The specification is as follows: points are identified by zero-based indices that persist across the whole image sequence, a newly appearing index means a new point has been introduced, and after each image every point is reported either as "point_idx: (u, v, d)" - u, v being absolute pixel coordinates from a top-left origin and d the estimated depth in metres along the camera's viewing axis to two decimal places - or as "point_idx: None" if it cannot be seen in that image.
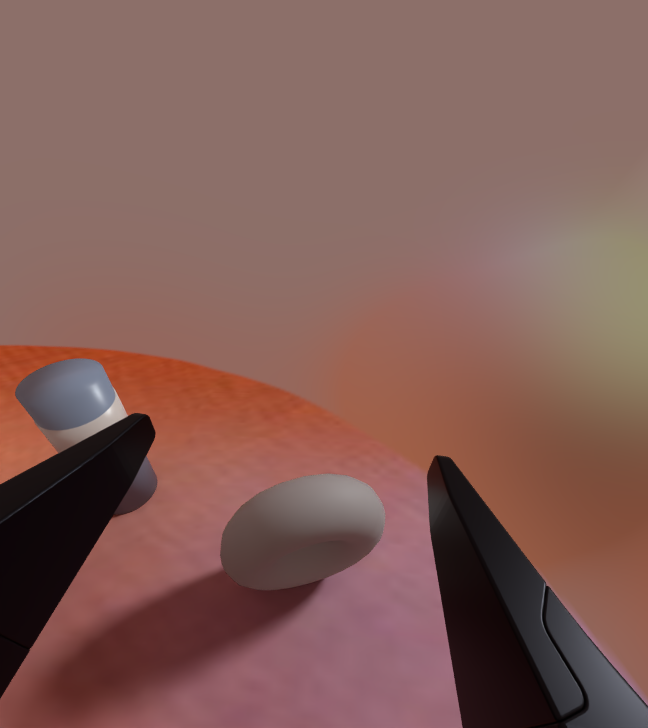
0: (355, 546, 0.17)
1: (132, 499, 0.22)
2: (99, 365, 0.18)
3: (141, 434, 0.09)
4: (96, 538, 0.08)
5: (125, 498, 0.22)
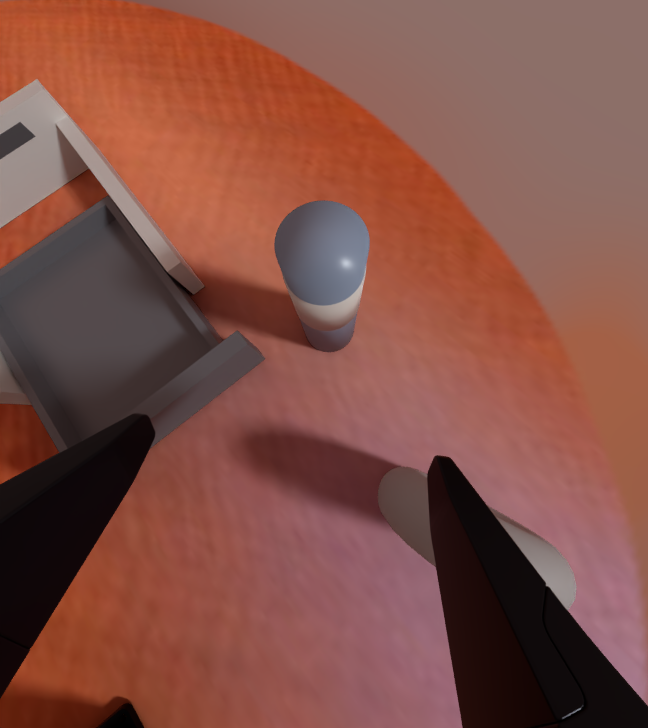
0: None
1: (329, 348, 0.23)
2: (366, 235, 0.12)
3: (141, 434, 0.09)
4: (96, 538, 0.08)
5: (324, 346, 0.22)
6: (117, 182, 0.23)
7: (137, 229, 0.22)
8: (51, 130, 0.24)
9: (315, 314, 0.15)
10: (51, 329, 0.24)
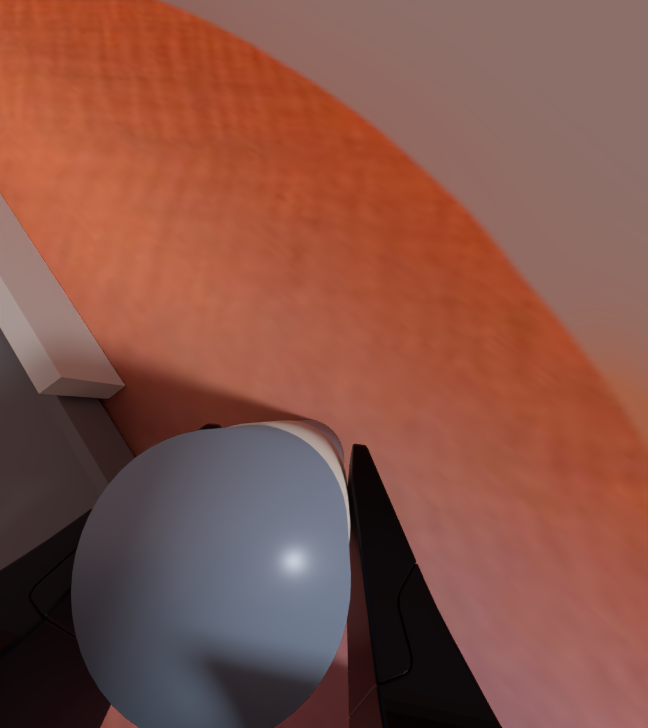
0: None
1: None
2: (342, 558, 0.04)
3: None
4: None
5: None
6: None
7: None
8: None
9: None
10: None
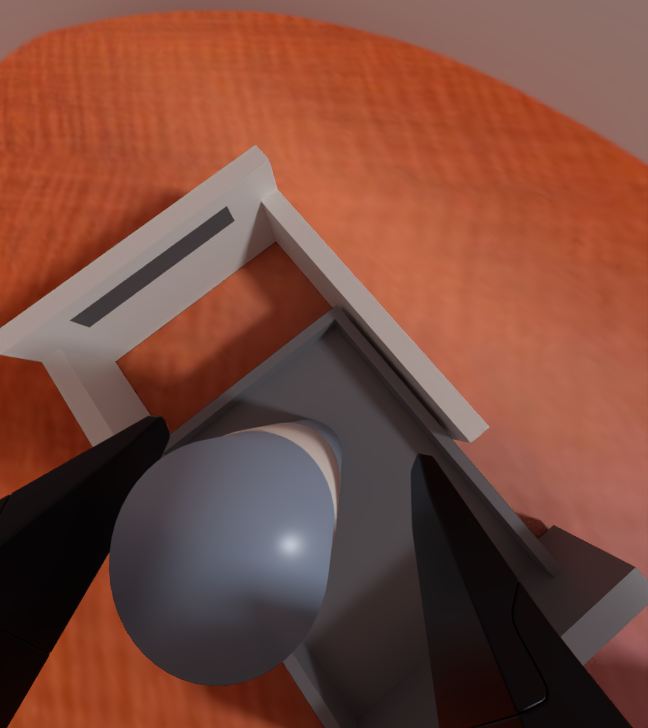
0: None
1: None
2: (322, 542, 0.05)
3: (157, 436, 0.09)
4: None
5: None
6: (368, 294, 0.16)
7: (411, 371, 0.15)
8: (253, 210, 0.17)
9: None
10: None
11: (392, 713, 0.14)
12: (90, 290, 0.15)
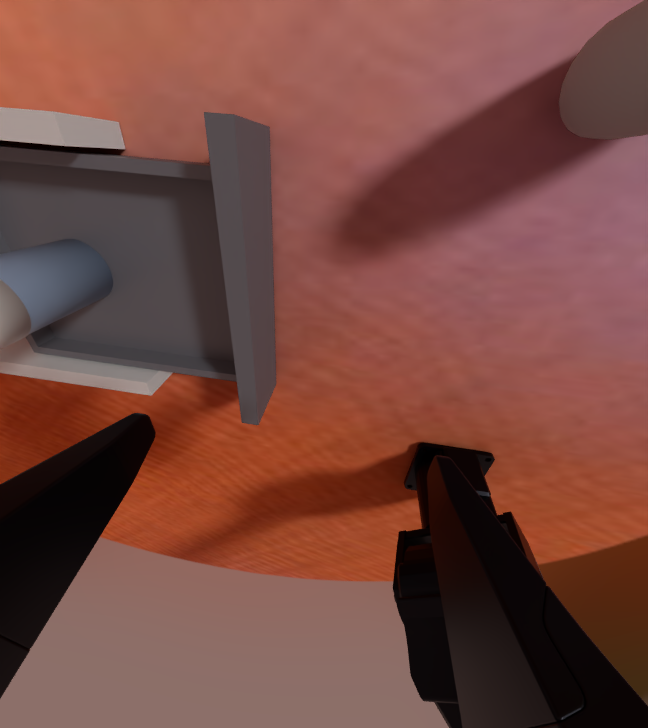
0: None
1: (97, 297, 0.19)
2: None
3: (141, 434, 0.09)
4: (96, 538, 0.08)
5: (88, 304, 0.19)
6: None
7: None
8: None
9: None
10: (104, 318, 0.22)
11: None
12: None
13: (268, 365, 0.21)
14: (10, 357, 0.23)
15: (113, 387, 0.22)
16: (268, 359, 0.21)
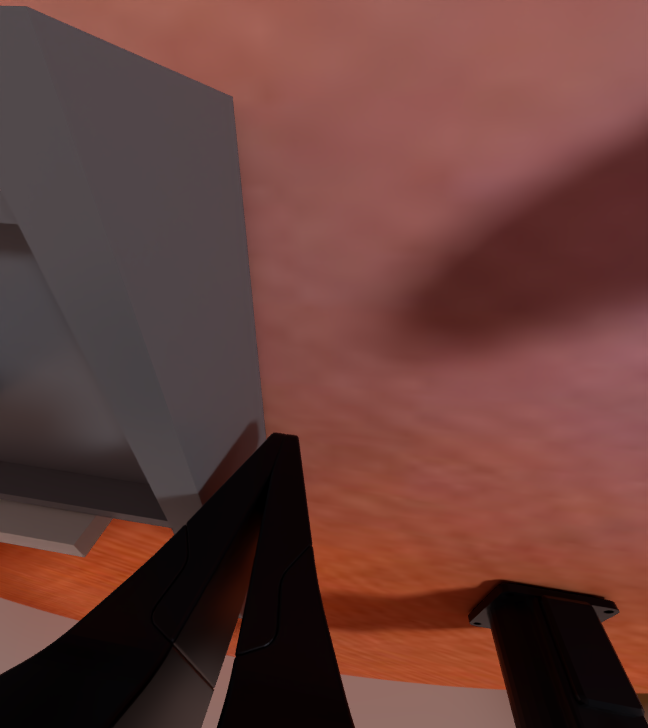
0: None
1: None
2: None
3: None
4: None
5: None
6: None
7: None
8: None
9: None
10: None
11: None
12: None
13: None
14: None
15: (24, 544, 0.14)
16: None
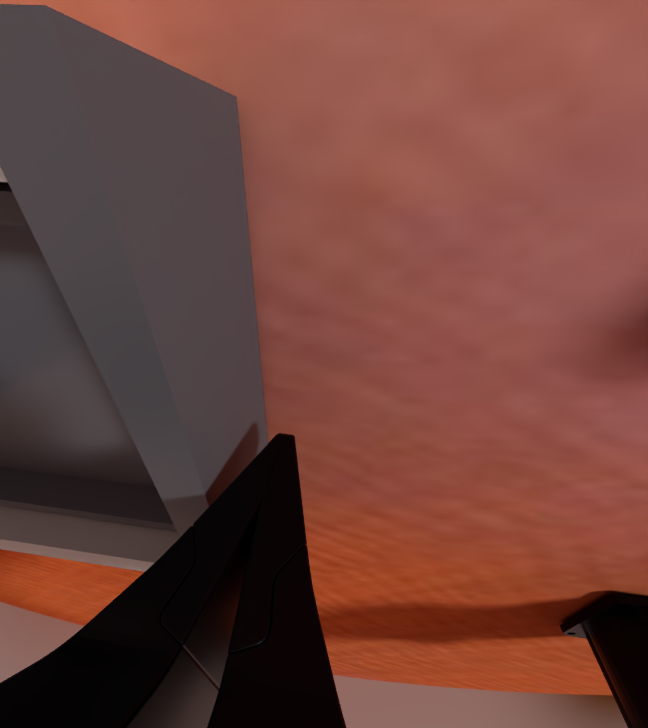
0: None
1: None
2: None
3: None
4: None
5: None
6: None
7: None
8: None
9: None
10: None
11: None
12: None
13: None
14: None
15: None
16: None
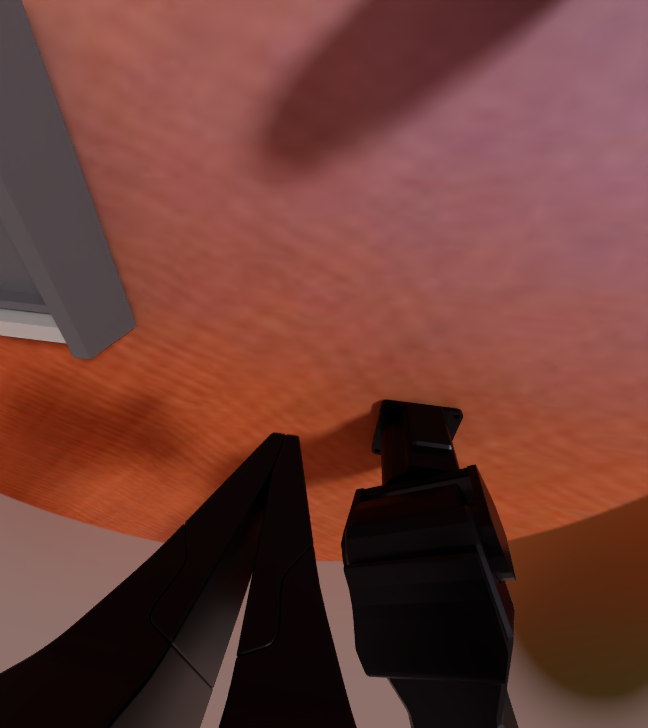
0: None
1: None
2: None
3: None
4: (253, 566, 0.08)
5: None
6: None
7: None
8: None
9: None
10: None
11: None
12: None
13: (104, 297, 0.20)
14: None
15: (39, 337, 0.20)
16: (102, 289, 0.20)
